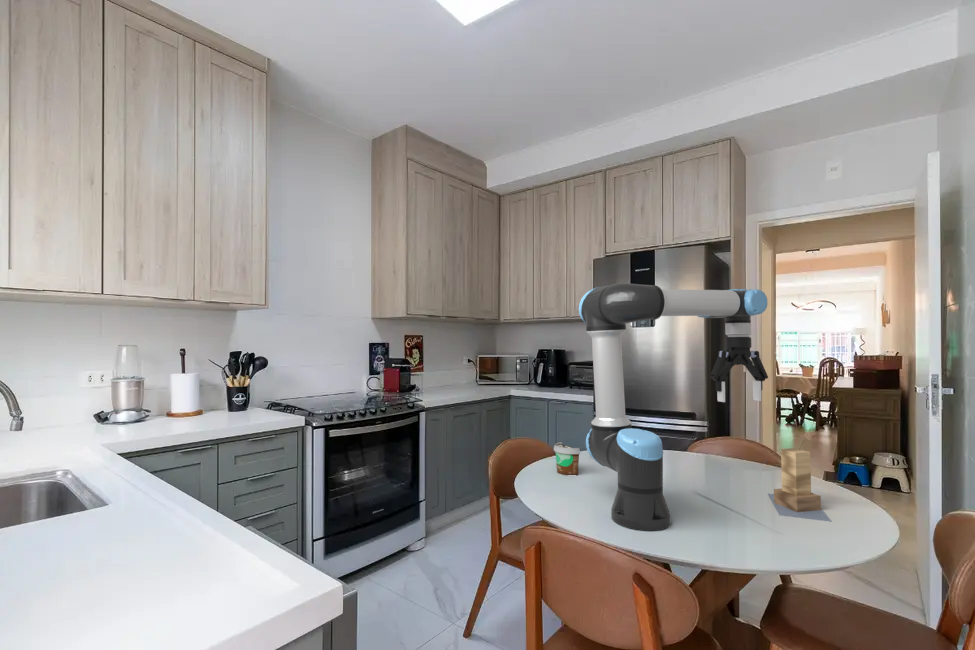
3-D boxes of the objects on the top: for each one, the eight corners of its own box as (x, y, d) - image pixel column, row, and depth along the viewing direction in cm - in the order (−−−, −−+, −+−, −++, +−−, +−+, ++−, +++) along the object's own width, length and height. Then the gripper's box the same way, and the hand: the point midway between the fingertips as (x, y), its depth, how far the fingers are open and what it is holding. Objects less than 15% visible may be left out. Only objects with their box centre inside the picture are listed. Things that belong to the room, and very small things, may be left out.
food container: (547, 469, 176) (547, 442, 177) (560, 467, 179) (560, 441, 179) (565, 478, 165) (565, 449, 166) (580, 476, 168) (580, 448, 168)
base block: (820, 510, 132) (820, 495, 133) (797, 512, 131) (796, 497, 131) (796, 500, 140) (796, 487, 140) (774, 502, 138) (773, 489, 139)
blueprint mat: (832, 523, 124) (832, 521, 124) (779, 517, 129) (779, 515, 129) (812, 500, 142) (812, 498, 142) (767, 495, 147) (767, 493, 147)
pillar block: (811, 494, 134) (810, 452, 134) (796, 495, 133) (795, 452, 133) (796, 489, 139) (795, 448, 139) (781, 490, 138) (781, 448, 138)
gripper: (761, 336, 161) (762, 398, 160) (697, 336, 155) (698, 400, 155) (779, 336, 153) (780, 401, 152) (712, 336, 148) (713, 403, 147)
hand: (739, 401), depth 153 cm, fingers open, 13 cm apart
